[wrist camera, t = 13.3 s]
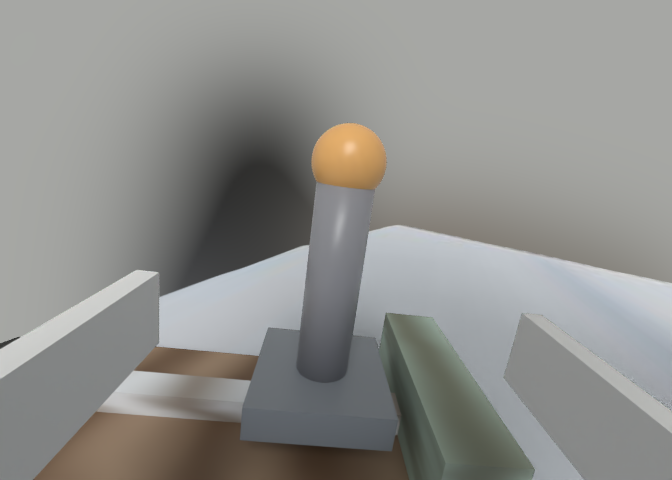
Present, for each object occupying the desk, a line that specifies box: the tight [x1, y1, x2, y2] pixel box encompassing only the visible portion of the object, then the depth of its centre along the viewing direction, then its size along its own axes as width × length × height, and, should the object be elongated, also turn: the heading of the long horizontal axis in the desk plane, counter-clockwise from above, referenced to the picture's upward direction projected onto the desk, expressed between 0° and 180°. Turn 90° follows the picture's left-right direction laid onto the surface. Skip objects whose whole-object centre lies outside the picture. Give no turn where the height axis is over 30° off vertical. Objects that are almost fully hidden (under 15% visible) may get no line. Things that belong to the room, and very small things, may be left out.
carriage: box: [240, 123, 398, 451], centre depth 19 cm, size 8×8×18 cm
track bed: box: [33, 313, 535, 480], centre depth 21 cm, size 30×14×6 cm, turn 92°
